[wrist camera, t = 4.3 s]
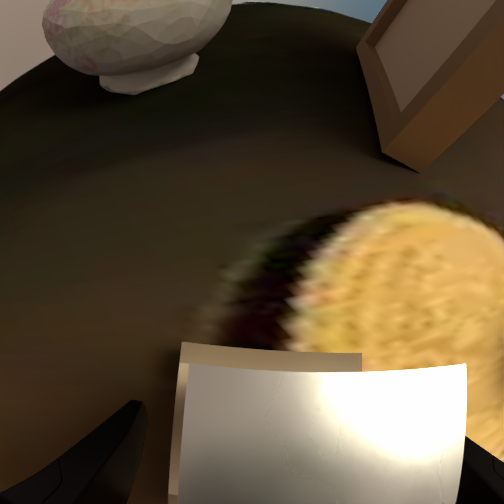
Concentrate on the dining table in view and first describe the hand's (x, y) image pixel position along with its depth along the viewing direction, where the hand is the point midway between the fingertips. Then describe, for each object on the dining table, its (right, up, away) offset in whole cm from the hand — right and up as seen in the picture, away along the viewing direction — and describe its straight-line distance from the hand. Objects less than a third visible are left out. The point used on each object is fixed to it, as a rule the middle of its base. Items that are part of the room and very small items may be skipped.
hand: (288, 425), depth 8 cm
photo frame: (+18, +21, +20) cm, 34 cm away
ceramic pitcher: (-12, +26, +20) cm, 35 cm away
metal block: (-1, -4, +6) cm, 7 cm away
